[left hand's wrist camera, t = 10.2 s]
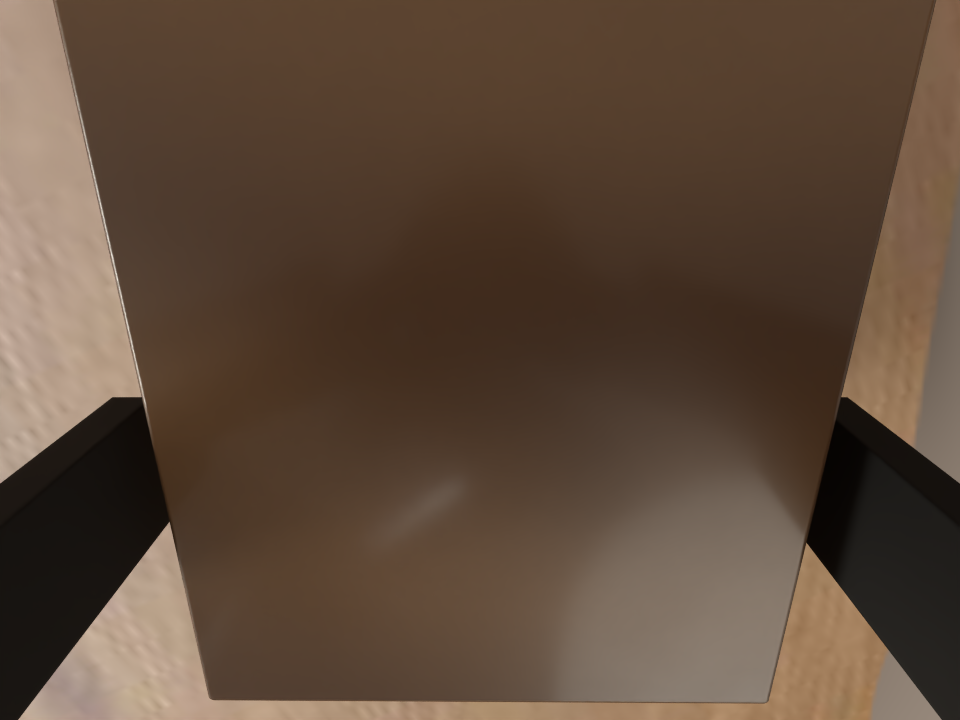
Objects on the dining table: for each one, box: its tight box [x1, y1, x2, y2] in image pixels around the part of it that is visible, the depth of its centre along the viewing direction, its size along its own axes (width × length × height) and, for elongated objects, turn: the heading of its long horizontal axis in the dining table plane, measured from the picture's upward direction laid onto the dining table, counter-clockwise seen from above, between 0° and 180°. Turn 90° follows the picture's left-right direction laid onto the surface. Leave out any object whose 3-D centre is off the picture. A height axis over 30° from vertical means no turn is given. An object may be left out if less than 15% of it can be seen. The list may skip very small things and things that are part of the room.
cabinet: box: [53, 0, 936, 703], centre depth 14 cm, size 17×11×12 cm, turn 0°
